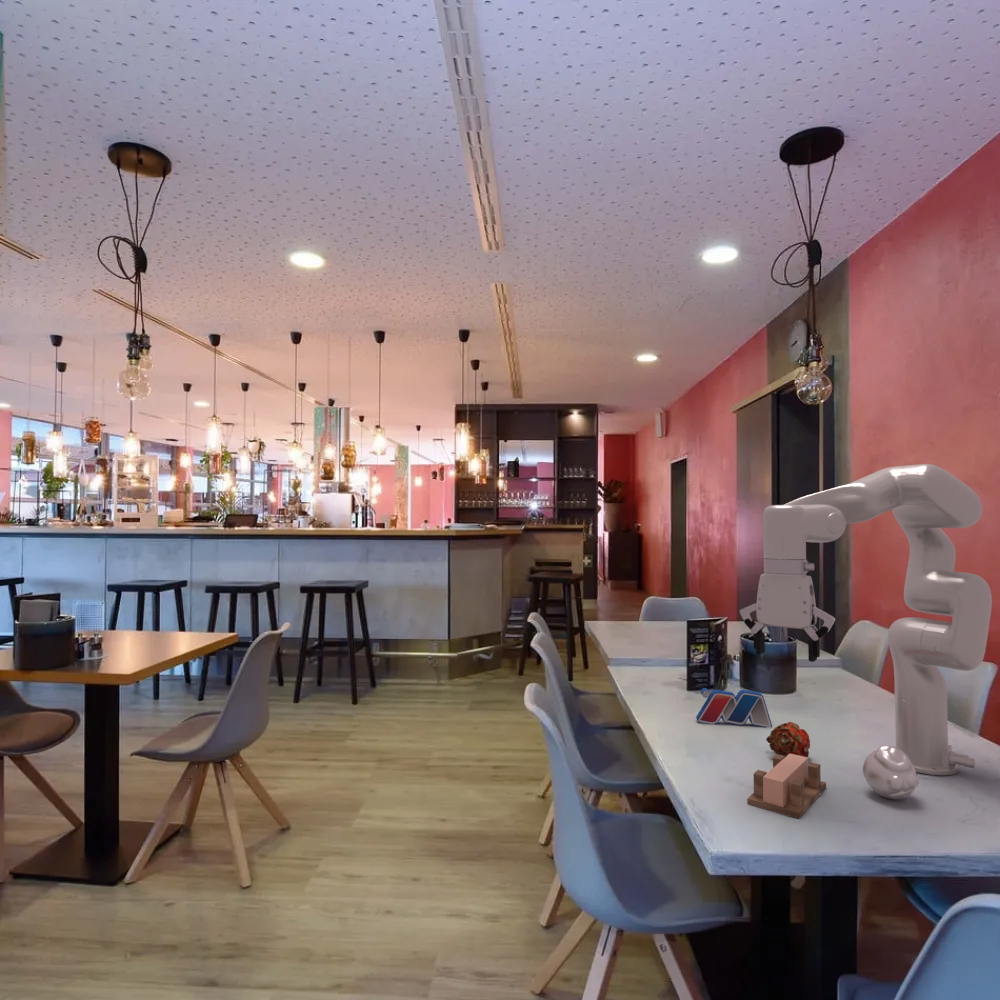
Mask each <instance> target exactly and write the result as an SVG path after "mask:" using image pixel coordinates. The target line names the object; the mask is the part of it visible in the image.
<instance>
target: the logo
mask: <svg viewBox="0 0 1000 1000" xmlns="http://www.w3.org/2000/svg"><path fill="white" fill-rule="evenodd" d="M700 694H701V695H702V697H703V698H705V699H706V700H705V702H704V703H703V705H702V706H701V708H700V710H699V711H698V713H697V714H696V716H695V718H696V721H697V722H698V723H701V724H705V725H717V724H718V723H719V722H720V721H721V720H722V721H723V723H726V724H732V725H736V726H744V725H746V723H747V722H748V721H749V722H750V723H751V725H752V726H756V727H761V728H766V727H771V728H773V724H772V720H771V717H770V714H769V709H768V706H767V704H766V700H765V698H764V695H763V694H762V693H761V692H759V691H754V690H749V689H741V690H739V691H738V693H736V695H735V694H734V693H733V692H732V691H726V690H720V689H714V690H712V691H711V692H710V691H709V689H708V688H706V687H703V688H701V690H700Z"/></svg>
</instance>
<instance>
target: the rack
mask: <svg viewBox="0 0 1000 1000" xmlns="http://www.w3.org/2000/svg"><path fill="white" fill-rule="evenodd" d="M784 758H785V756H782V755H778V754H776V753H775V754H774V755H773V757H772V768H774V767H775V766H776V765H777V764H778V763H779V762H780V761H782V760H783V759H784ZM767 773H768V771H764V770H761V769H756V771H754V772H753V792H752V794H750V796H748V797H747V799H746V802H747V805H750V806H753V805H754V806H753V807H756V806H757V808H761V809H763V810H767V811H769V812H770V811H771V812H773V813H777V814H780V815H785V816H788V817H791V818H794V817H795V819H798V820H800V818H801V817H803V815H804V814H805V813H806V812H807V811H808V809H809V808H810V807H811V806H812V805H813V803H814V802H815V801H816V800H817V799H818V797H820V795H821V794H822V793H823V792H824V791H825V789H826V788H827V782H826V781H822V780H821V764H819V763H816V762H812V761H811V762H810V763H808V782H807V783H806V784H805V785H804V781H801V780H797V779H794V780H793V781H792V782H791V800H790V801H789V802H788V803H787V804H786V805H785V806H784V807H780V806H776V805H773V804H769V803H766V802H763V776H764V775H765V774H767ZM825 787H826V788H825ZM824 788H825V789H824ZM822 791H823V792H822ZM821 792H822V793H821ZM820 793H821V794H820ZM819 794H820V795H819ZM816 798H817V799H816ZM815 799H816V800H815ZM814 800H815V801H814ZM810 805H811V806H810ZM804 812H805V813H804Z"/></svg>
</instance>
